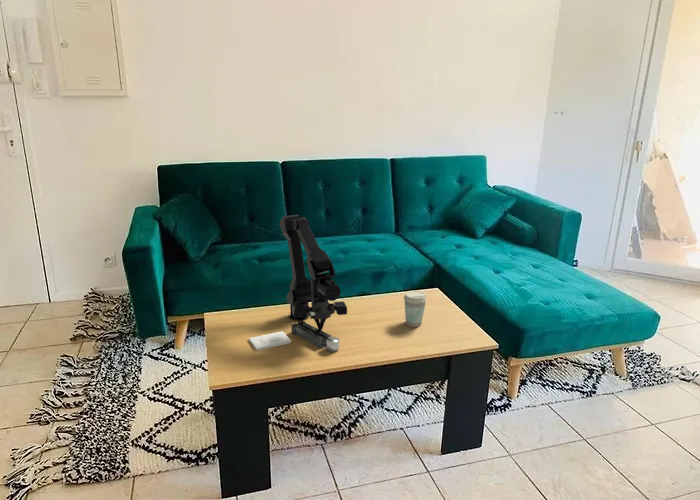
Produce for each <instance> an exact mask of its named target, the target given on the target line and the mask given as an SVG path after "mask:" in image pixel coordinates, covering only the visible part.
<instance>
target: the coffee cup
mask: <svg viewBox="0 0 700 500" xmlns="http://www.w3.org/2000/svg"><path fill="white" fill-rule="evenodd" d="M403 301H404V311H405V315H404V316H405V317H404V318H405V324H406V326H408V327H411V328H418V327H420V326H421V325H422V323H423V322H422V321H423V318H424V313H425V312H424V311H425V307H426V302H427V301H428V299H427V296H426V293H425V292H423V291H420V290H409V291H406V293H405V294H404V297H403Z"/></svg>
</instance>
